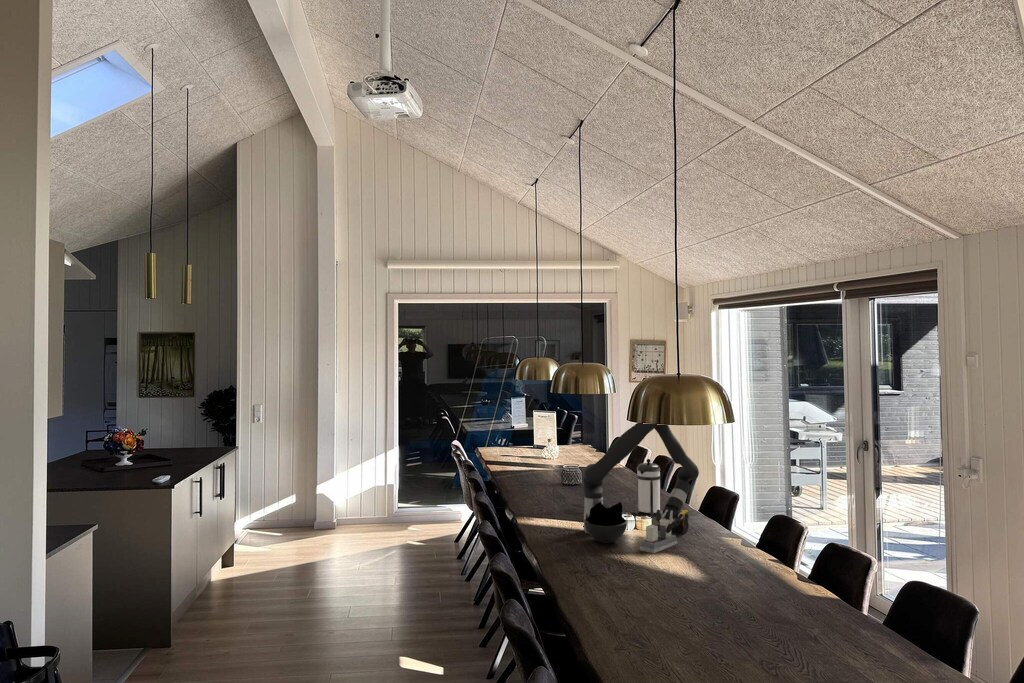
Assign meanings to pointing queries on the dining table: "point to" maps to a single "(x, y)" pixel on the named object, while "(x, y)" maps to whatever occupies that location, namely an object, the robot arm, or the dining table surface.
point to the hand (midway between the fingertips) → (662, 531)
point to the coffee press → (648, 488)
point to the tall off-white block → (664, 528)
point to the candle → (682, 524)
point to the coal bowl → (605, 523)
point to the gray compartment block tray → (656, 540)
